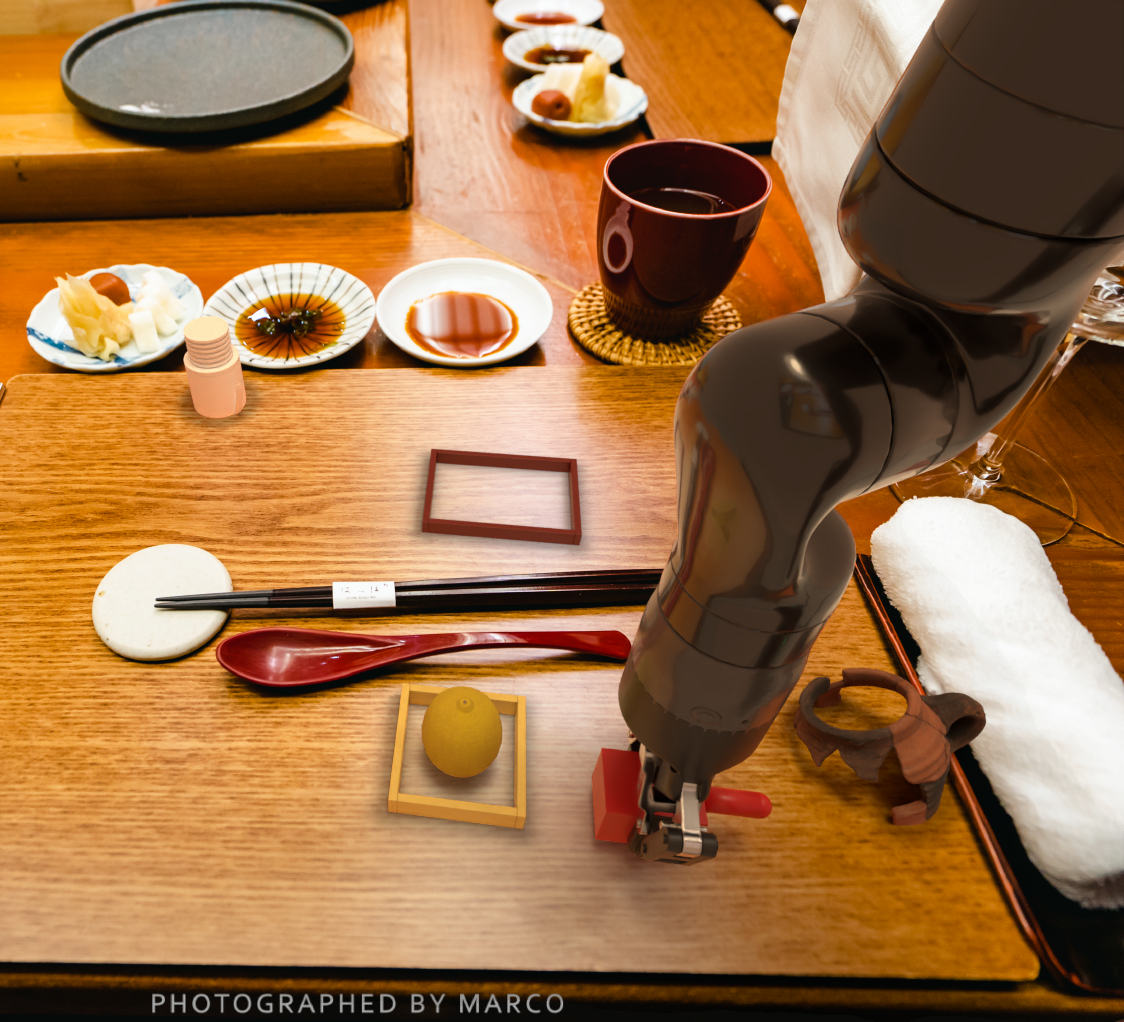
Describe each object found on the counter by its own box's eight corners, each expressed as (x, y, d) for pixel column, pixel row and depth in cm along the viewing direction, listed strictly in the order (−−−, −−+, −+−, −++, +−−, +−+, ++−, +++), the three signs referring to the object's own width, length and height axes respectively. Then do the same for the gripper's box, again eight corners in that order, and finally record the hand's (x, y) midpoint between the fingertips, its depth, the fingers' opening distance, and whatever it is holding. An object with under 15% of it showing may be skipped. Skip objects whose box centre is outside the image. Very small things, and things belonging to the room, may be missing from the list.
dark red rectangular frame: (573, 473, 79) (576, 458, 77) (578, 550, 72) (582, 535, 70) (430, 463, 81) (431, 448, 79) (421, 536, 74) (422, 521, 72)
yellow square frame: (522, 713, 60) (525, 696, 59) (521, 832, 54) (526, 817, 52) (402, 700, 62) (402, 682, 60) (388, 815, 55) (387, 799, 54)
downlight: (268, 405, 88) (257, 328, 81) (219, 436, 84) (203, 358, 77) (222, 377, 92) (208, 301, 85) (174, 405, 88) (154, 328, 81)
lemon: (437, 714, 60) (441, 654, 54) (507, 742, 58) (519, 684, 53) (407, 777, 57) (409, 720, 51) (481, 809, 55) (491, 754, 49)
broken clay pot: (866, 860, 53) (846, 768, 50) (777, 770, 61) (756, 687, 59) (1034, 789, 52) (1024, 692, 50) (921, 709, 61) (906, 623, 58)
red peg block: (749, 795, 53) (769, 766, 50) (763, 861, 50) (784, 834, 47) (591, 776, 54) (601, 747, 52) (594, 839, 51) (606, 812, 49)
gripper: (825, 806, 35) (717, 935, 47) (759, 563, 45) (685, 721, 57) (647, 785, 36) (587, 916, 48) (622, 552, 46) (577, 709, 58)
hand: (640, 810), depth 52 cm, fingers closed on red peg block, 4 cm apart
